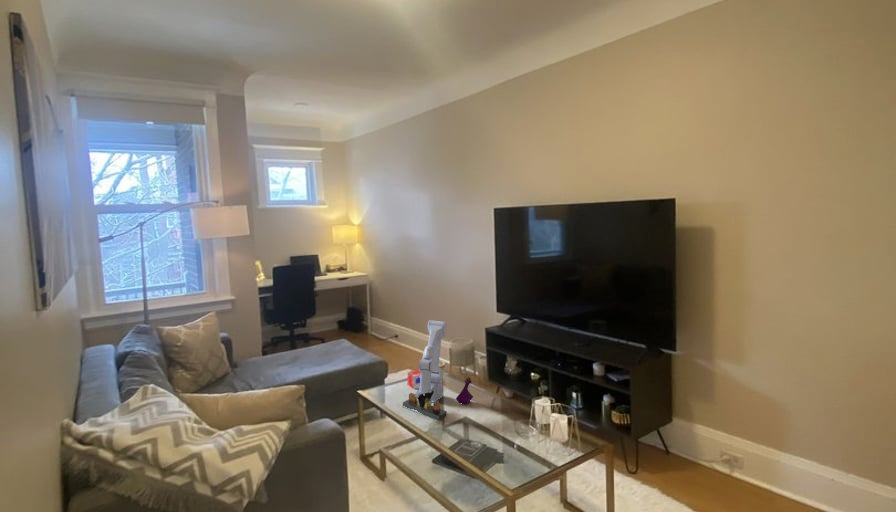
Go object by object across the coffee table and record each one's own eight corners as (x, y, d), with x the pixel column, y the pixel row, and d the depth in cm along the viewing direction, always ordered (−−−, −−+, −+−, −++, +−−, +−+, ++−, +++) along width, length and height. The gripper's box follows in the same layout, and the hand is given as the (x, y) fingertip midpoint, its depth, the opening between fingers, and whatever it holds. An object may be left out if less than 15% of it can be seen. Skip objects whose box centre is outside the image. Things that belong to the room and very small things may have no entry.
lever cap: (422, 403, 253) (422, 396, 252) (431, 407, 249) (431, 400, 249) (417, 406, 250) (417, 399, 249) (426, 409, 246) (426, 402, 246)
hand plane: (410, 402, 260) (411, 390, 259) (446, 415, 246) (447, 403, 245) (402, 406, 254) (403, 394, 253) (438, 420, 240) (439, 407, 239)
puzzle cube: (418, 381, 288) (419, 369, 286) (425, 386, 281) (425, 374, 280) (407, 384, 283) (407, 371, 282) (413, 389, 277) (413, 376, 276)
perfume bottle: (473, 401, 263) (474, 371, 261) (467, 407, 257) (469, 375, 254) (460, 398, 266) (462, 368, 264) (455, 404, 260) (456, 372, 257)
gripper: (422, 387, 239) (421, 412, 241) (439, 378, 251) (438, 403, 253) (412, 383, 243) (411, 408, 245) (429, 375, 255) (428, 399, 257)
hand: (424, 405), depth 249 cm, fingers closed on lever cap, 4 cm apart
